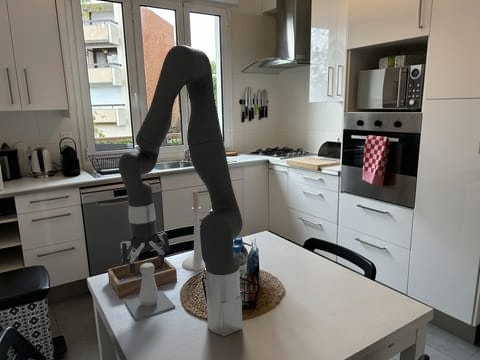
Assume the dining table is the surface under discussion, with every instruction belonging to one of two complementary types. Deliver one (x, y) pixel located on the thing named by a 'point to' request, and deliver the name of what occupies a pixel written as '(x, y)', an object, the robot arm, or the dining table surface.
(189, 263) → the candlestick
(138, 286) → the frame
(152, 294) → the salt shaker
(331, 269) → the dining table surface
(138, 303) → the grey mat
